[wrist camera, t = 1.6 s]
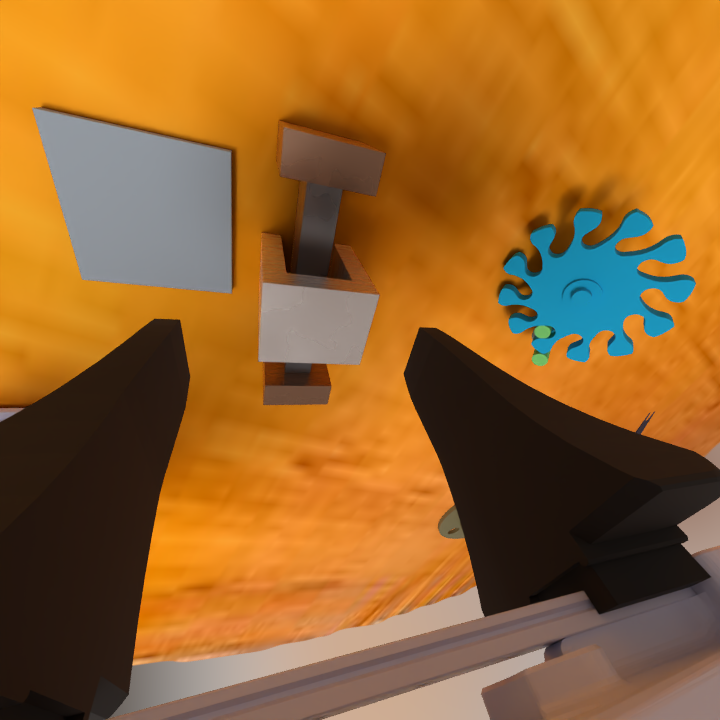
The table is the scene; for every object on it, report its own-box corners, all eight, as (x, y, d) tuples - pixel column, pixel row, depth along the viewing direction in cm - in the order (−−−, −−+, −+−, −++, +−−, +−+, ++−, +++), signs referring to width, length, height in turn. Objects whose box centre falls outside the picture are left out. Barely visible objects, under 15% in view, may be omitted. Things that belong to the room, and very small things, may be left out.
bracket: (337, 305, 21) (359, 364, 17) (258, 298, 20) (258, 361, 15) (350, 245, 19) (379, 294, 14) (261, 232, 17) (262, 282, 13)
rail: (318, 365, 24) (327, 404, 21) (263, 364, 23) (263, 404, 20) (362, 142, 16) (385, 153, 13) (278, 120, 15) (283, 126, 12)
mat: (232, 288, 19) (231, 293, 19) (87, 274, 17) (82, 279, 16) (231, 150, 15) (231, 152, 15) (40, 107, 13) (32, 107, 12)
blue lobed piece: (549, 183, 18) (760, 257, 15) (561, 169, 22) (730, 226, 19) (466, 333, 26) (596, 400, 23) (486, 303, 29) (599, 357, 27)
